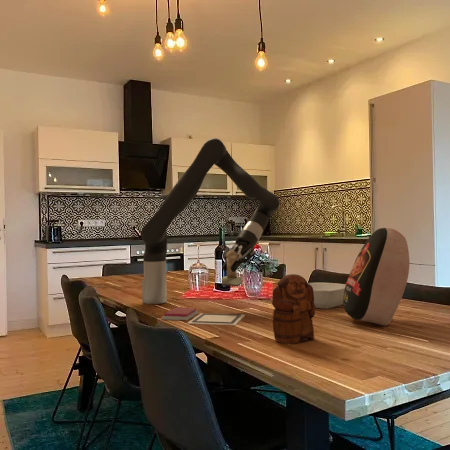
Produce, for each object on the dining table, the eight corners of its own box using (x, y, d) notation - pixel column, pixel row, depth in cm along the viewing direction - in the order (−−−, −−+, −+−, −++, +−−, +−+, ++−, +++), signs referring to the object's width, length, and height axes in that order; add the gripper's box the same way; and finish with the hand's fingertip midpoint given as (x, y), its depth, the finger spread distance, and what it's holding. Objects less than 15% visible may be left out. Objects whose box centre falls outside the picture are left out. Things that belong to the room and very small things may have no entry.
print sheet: (187, 323, 149) (187, 321, 149) (201, 314, 164) (201, 312, 164) (235, 325, 145) (235, 323, 145) (245, 315, 161) (245, 313, 161)
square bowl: (283, 306, 179) (283, 286, 179) (312, 299, 194) (311, 281, 194) (330, 312, 165) (330, 291, 165) (357, 304, 180) (357, 284, 180)
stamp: (221, 285, 167) (221, 250, 167) (225, 283, 173) (225, 249, 172) (238, 286, 165) (238, 251, 165) (241, 283, 171) (241, 250, 171)
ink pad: (162, 319, 156) (162, 313, 156) (174, 312, 168) (174, 307, 168) (187, 320, 154) (187, 314, 154) (198, 313, 166) (197, 307, 166)
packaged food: (337, 315, 158) (335, 228, 158) (394, 315, 157) (393, 227, 157) (352, 330, 136) (351, 228, 136) (420, 329, 135) (418, 227, 135)
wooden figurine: (285, 346, 120) (284, 277, 120) (270, 340, 126) (269, 274, 126) (319, 339, 126) (318, 273, 126) (304, 335, 132) (303, 272, 131)
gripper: (231, 228, 179) (209, 262, 170) (259, 229, 169) (237, 264, 161) (240, 242, 183) (219, 275, 174) (268, 243, 173) (247, 278, 164)
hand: (228, 269), depth 167 cm, fingers closed on stamp, 3 cm apart
